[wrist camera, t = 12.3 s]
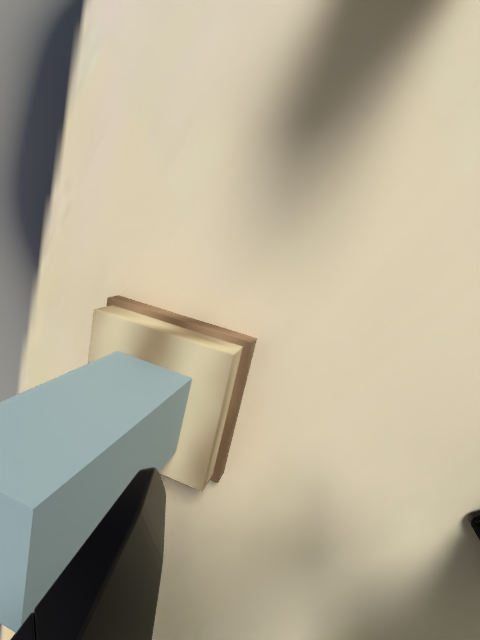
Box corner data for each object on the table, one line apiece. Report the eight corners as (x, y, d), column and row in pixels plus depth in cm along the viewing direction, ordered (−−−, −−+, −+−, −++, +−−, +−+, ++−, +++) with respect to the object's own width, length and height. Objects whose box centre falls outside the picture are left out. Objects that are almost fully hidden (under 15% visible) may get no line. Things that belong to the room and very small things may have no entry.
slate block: (192, 378, 22) (33, 509, 11) (176, 451, 24) (19, 635, 12) (117, 350, 24) (-95, 443, 12) (106, 422, 25) (-94, 565, 14)
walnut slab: (259, 335, 25) (251, 343, 23) (227, 466, 28) (217, 482, 26) (124, 294, 27) (107, 297, 25) (107, 417, 30) (91, 429, 28)
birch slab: (243, 346, 23) (233, 355, 21) (213, 473, 26) (202, 491, 24) (112, 305, 25) (93, 309, 24) (97, 425, 28) (79, 438, 26)
